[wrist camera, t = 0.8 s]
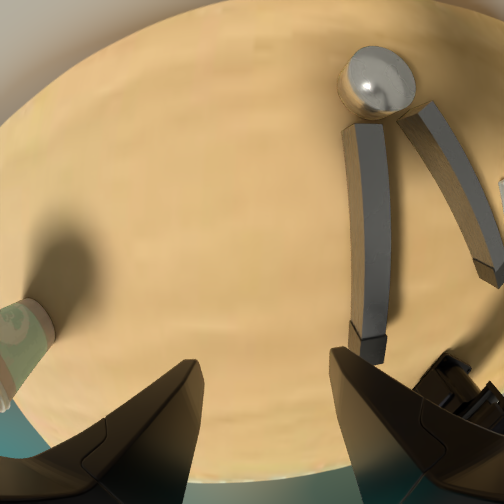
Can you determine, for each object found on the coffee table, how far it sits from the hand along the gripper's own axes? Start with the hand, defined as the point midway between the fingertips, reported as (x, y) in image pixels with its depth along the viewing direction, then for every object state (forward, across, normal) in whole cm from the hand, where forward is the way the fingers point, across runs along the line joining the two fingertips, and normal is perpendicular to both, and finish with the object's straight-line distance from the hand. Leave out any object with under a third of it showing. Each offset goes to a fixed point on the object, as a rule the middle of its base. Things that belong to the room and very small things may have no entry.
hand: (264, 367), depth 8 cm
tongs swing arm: (+12, -8, -3) cm, 14 cm away
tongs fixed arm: (+12, -16, -3) cm, 20 cm away
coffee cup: (+12, +25, +5) cm, 28 cm away
